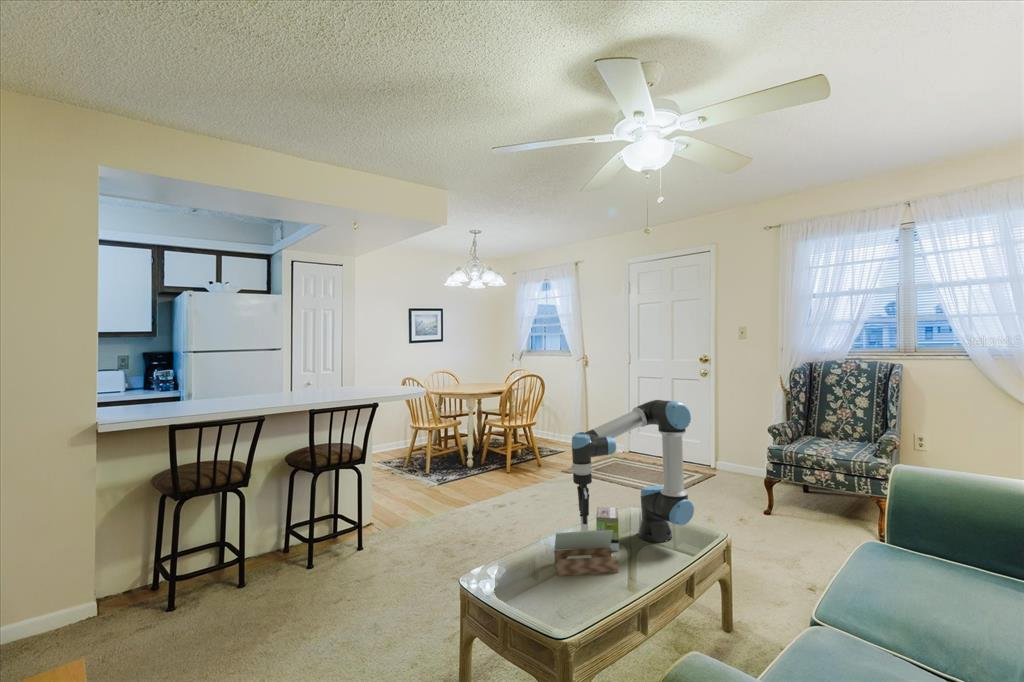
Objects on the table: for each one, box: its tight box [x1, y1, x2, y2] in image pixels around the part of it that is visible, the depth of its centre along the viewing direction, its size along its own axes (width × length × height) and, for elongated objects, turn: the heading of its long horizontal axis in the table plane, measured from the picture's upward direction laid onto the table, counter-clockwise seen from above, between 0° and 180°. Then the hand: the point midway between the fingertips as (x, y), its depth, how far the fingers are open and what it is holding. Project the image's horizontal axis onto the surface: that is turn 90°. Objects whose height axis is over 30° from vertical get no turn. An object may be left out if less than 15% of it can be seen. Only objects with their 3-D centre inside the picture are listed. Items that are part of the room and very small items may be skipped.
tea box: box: [595, 506, 620, 552], centre depth 219 cm, size 15×10×15 cm, turn 168°
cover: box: [553, 530, 613, 551], centre depth 199 cm, size 24×12×1 cm
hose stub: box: [566, 555, 592, 559], centre depth 199 cm, size 11×3×3 cm, turn 93°
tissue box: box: [553, 547, 619, 577], centre depth 196 cm, size 24×12×5 cm, turn 93°
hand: (584, 531), depth 195 cm, fingers closed
